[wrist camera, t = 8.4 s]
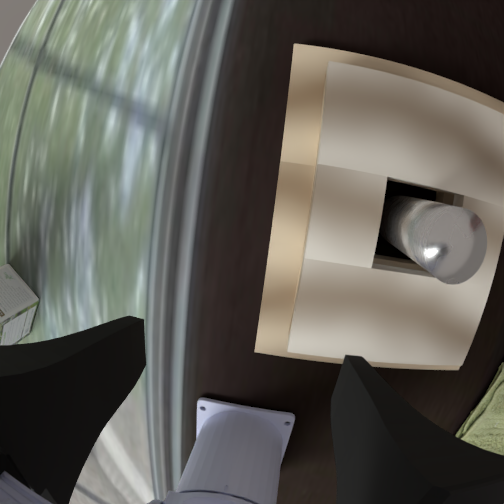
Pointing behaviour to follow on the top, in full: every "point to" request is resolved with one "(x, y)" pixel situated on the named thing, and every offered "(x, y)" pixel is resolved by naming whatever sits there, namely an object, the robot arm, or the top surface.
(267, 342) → the collar stand
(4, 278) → the syrup box
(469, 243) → the tube
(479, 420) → the washcloth
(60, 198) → the top surface
